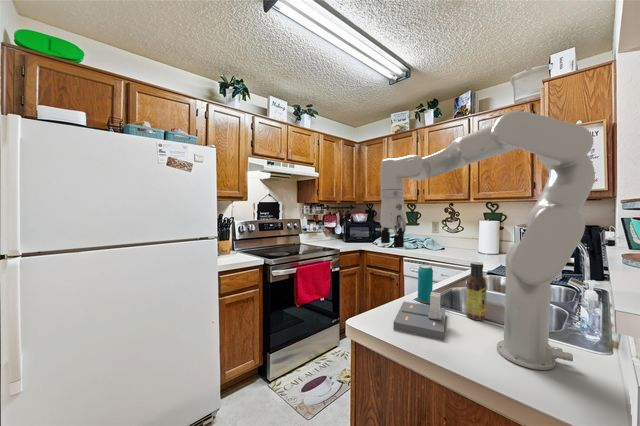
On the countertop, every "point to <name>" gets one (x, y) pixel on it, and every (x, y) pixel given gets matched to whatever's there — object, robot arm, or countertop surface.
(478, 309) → the sauce bottle
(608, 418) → the countertop surface
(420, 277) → the beverage can
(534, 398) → the countertop surface
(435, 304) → the slide lever
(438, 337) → the panel
